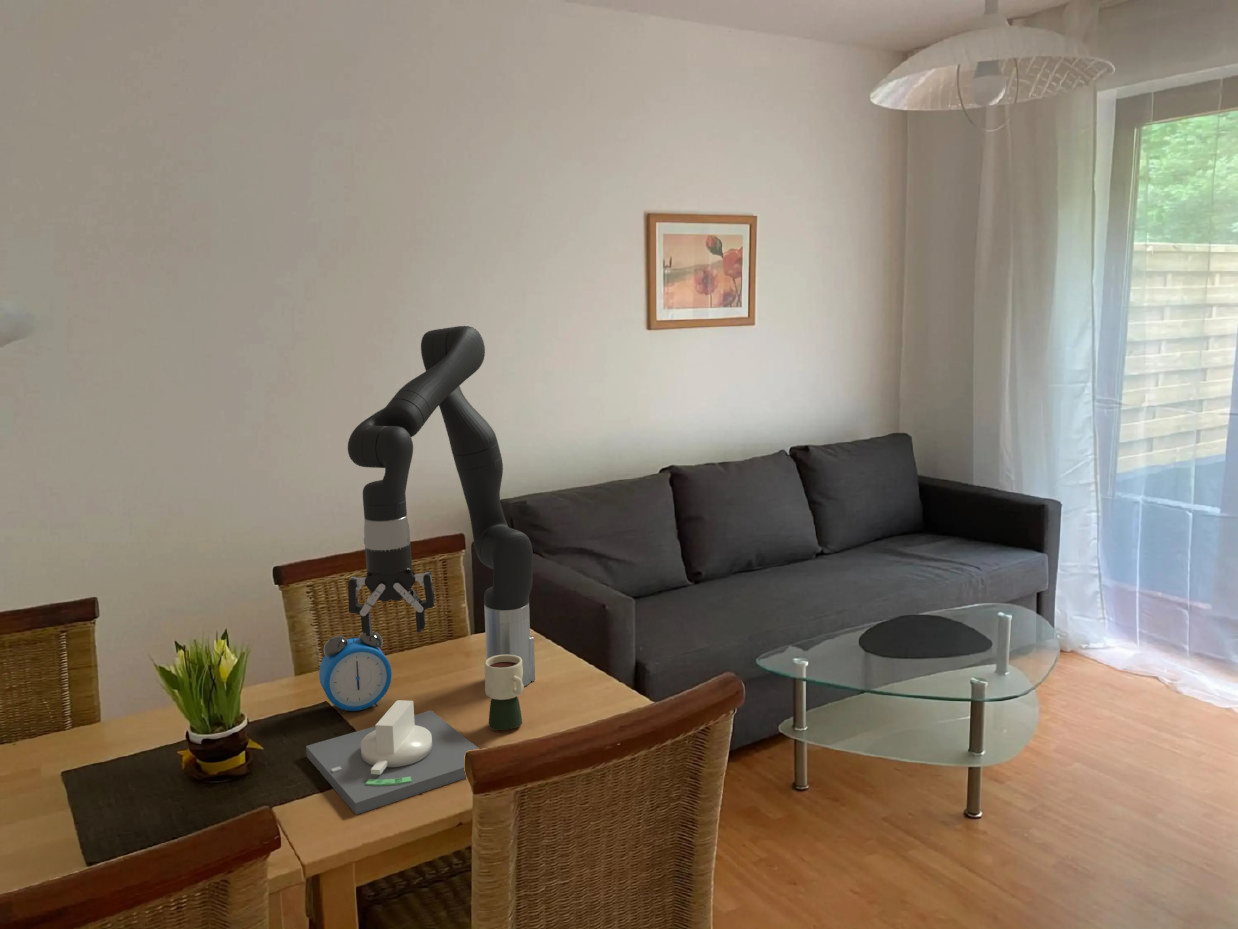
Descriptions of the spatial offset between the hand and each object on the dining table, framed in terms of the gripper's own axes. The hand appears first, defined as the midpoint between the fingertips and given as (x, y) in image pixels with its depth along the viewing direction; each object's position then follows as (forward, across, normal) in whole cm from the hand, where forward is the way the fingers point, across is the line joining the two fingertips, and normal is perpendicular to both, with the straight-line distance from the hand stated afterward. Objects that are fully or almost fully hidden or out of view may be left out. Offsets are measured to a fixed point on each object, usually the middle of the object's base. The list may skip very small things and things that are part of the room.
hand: (394, 633), depth 163 cm
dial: (+20, +1, +4) cm, 21 cm away
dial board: (+23, +1, +3) cm, 23 cm away
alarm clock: (+23, +11, -22) cm, 34 cm away
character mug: (+23, -18, -9) cm, 31 cm away
